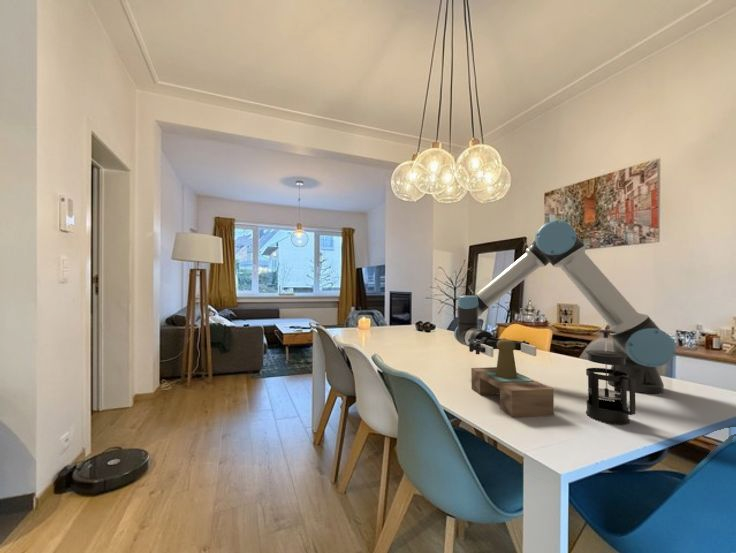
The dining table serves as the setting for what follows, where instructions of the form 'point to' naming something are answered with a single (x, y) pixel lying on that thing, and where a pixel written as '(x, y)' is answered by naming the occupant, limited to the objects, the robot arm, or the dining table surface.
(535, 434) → the dining table surface
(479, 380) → the wooden block
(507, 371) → the cork
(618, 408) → the french press
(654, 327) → the robot arm
